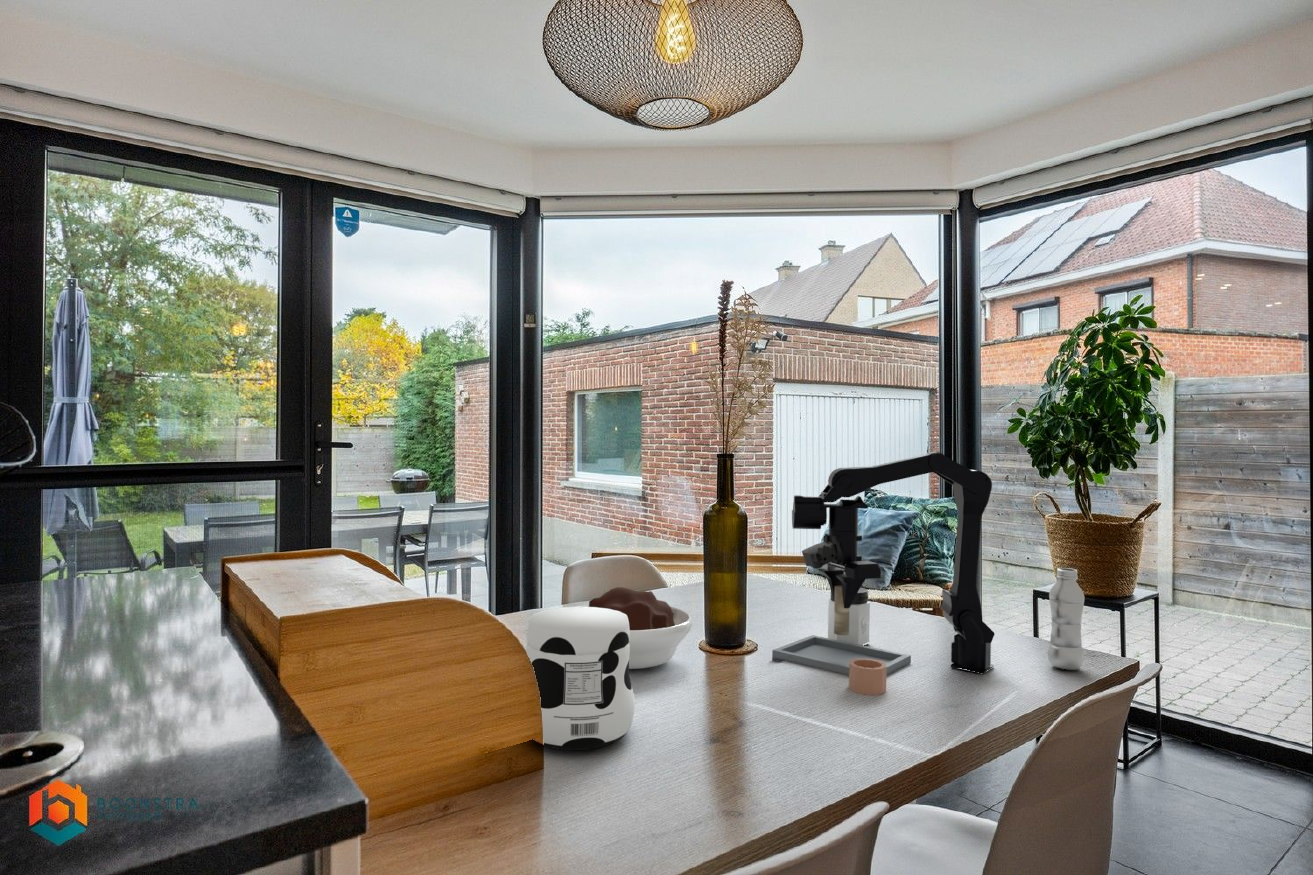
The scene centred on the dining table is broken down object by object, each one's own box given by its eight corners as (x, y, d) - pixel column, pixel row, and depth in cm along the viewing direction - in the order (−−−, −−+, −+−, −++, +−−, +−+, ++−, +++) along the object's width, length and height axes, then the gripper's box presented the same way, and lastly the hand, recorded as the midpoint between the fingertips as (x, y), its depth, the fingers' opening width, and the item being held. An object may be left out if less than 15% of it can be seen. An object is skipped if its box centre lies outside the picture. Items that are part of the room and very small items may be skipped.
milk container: (577, 707, 129) (578, 600, 129) (657, 734, 118) (659, 616, 118) (494, 738, 116) (496, 618, 115) (576, 771, 105) (578, 639, 104)
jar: (853, 650, 166) (854, 594, 166) (821, 642, 172) (822, 588, 172) (875, 642, 172) (876, 589, 172) (843, 635, 178) (844, 583, 178)
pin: (851, 633, 157) (852, 586, 157) (844, 636, 155) (845, 588, 155) (838, 630, 159) (839, 584, 159) (831, 633, 157) (832, 586, 157)
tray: (910, 665, 156) (910, 655, 156) (874, 684, 143) (875, 673, 143) (812, 644, 171) (812, 635, 171) (772, 659, 158) (772, 649, 158)
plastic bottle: (1047, 670, 154) (1048, 570, 154) (1047, 661, 160) (1049, 565, 160) (1084, 675, 151) (1086, 573, 151) (1083, 666, 157) (1085, 568, 157)
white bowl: (658, 641, 171) (659, 573, 171) (714, 673, 149) (715, 595, 149) (550, 652, 161) (551, 580, 161) (592, 689, 138) (593, 605, 138)
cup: (891, 691, 140) (892, 663, 140) (876, 699, 135) (876, 671, 135) (858, 683, 144) (859, 656, 144) (842, 691, 139) (843, 663, 139)
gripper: (785, 525, 163) (784, 599, 163) (833, 537, 145) (832, 619, 146) (831, 524, 167) (830, 596, 167) (883, 535, 149) (882, 615, 149)
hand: (842, 606), depth 157 cm, fingers closed on pin, 3 cm apart
